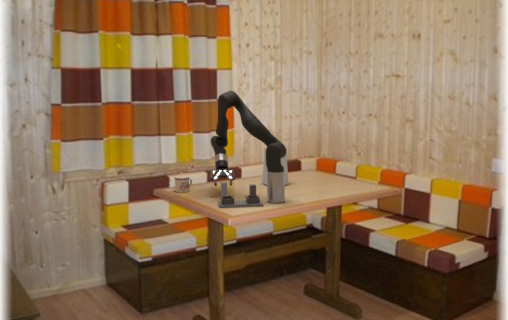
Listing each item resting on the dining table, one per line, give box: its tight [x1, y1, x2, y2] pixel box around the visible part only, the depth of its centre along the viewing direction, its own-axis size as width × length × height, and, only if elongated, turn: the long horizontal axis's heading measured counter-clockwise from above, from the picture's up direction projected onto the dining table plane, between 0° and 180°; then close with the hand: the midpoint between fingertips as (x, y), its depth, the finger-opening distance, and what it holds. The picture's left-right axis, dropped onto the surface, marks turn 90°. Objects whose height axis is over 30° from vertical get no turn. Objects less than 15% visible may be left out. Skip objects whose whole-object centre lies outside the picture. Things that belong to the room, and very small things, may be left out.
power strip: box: [216, 183, 264, 209], centre depth 295 cm, size 24×10×11 cm, turn 99°
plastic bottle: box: [261, 145, 289, 187], centre depth 354 cm, size 15×15×28 cm
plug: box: [220, 181, 228, 198], centre depth 312 cm, size 3×4×10 cm
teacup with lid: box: [174, 172, 193, 193], centre depth 334 cm, size 12×9×12 cm
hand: (223, 185), depth 314 cm, fingers open, 8 cm apart
